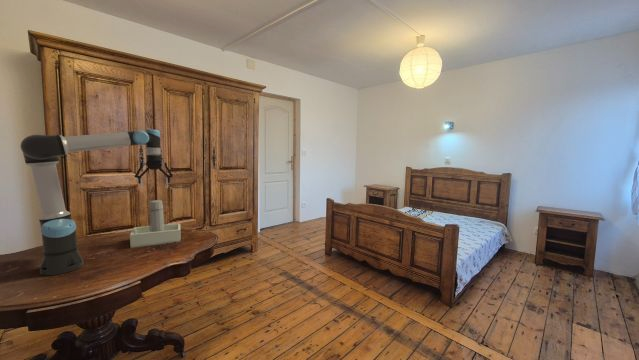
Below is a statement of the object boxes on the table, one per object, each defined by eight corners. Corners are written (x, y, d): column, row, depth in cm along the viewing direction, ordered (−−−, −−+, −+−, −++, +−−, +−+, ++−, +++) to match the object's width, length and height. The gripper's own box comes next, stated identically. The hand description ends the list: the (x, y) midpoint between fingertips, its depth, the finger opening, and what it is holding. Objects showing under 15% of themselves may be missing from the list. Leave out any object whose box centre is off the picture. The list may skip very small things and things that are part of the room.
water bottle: (167, 237, 173) (165, 200, 170) (159, 241, 165) (157, 202, 162) (154, 236, 174) (152, 199, 171) (145, 240, 166) (143, 202, 163)
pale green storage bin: (130, 247, 156) (129, 234, 155) (134, 239, 171) (134, 227, 170) (180, 241, 169) (180, 229, 168) (180, 234, 183) (180, 223, 182)
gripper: (128, 154, 154) (129, 189, 156) (176, 155, 166) (177, 188, 168) (130, 154, 161) (131, 188, 163) (176, 155, 173) (177, 187, 175)
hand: (154, 188), depth 166 cm, fingers open, 13 cm apart
